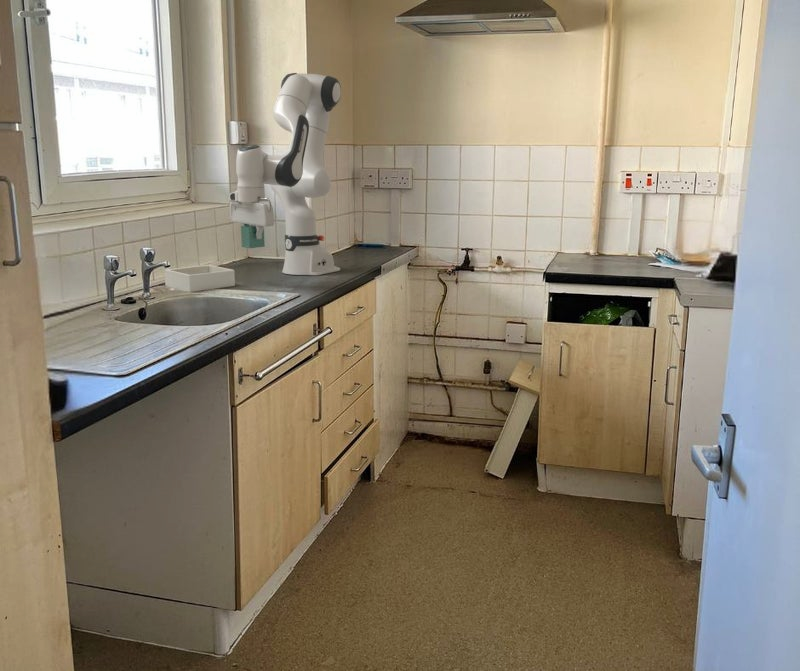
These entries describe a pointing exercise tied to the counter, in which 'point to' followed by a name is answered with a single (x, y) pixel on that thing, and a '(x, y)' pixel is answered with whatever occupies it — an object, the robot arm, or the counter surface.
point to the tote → (199, 278)
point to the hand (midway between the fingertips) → (252, 238)
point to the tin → (251, 237)
